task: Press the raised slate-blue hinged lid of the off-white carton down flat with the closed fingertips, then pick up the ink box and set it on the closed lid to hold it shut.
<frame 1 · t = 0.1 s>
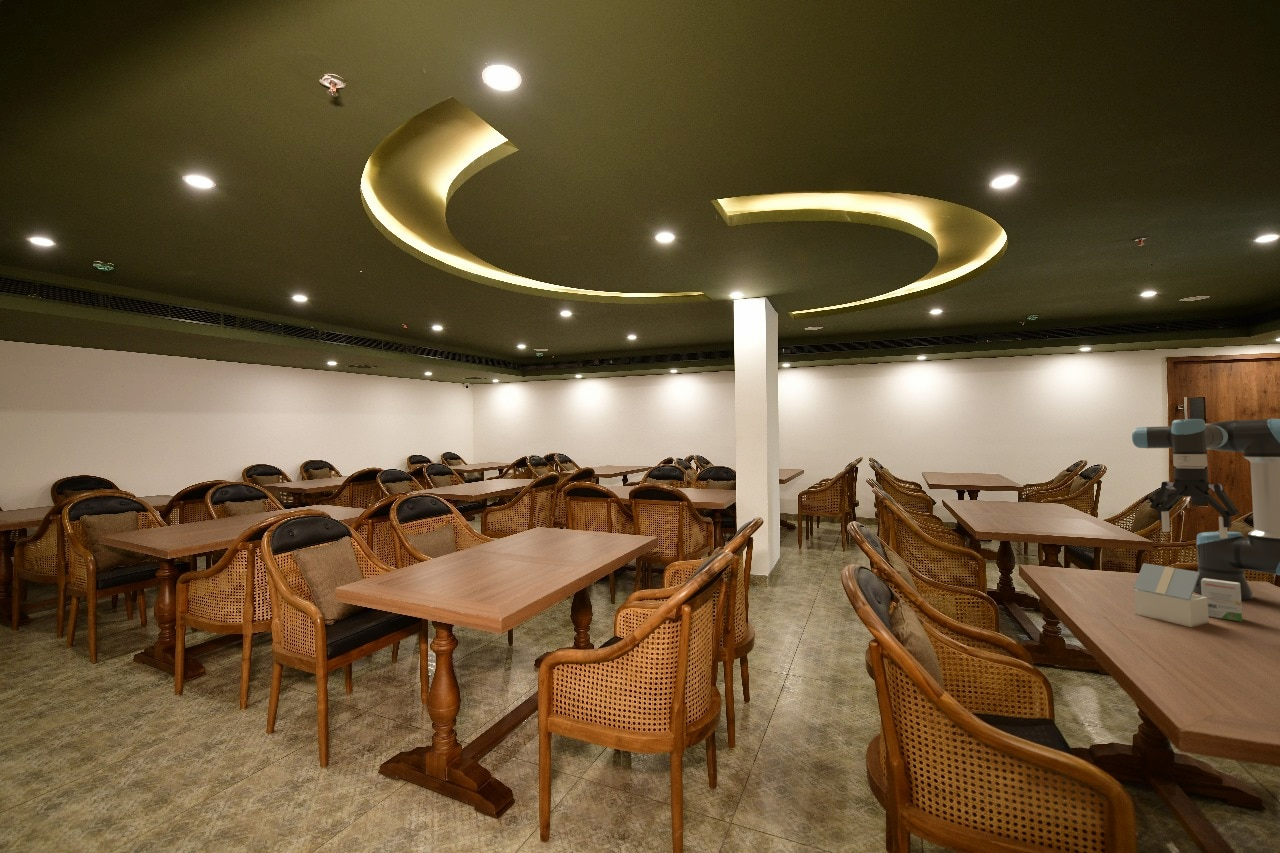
hand: (1193, 534, 167), 28 cm above the table, fingers open, 13 cm apart
lid: (1165, 580, 171), point 12 cm above the table, hinge at 50.0°
carton: (1171, 618, 171), on the table
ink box: (1222, 617, 172), on the table
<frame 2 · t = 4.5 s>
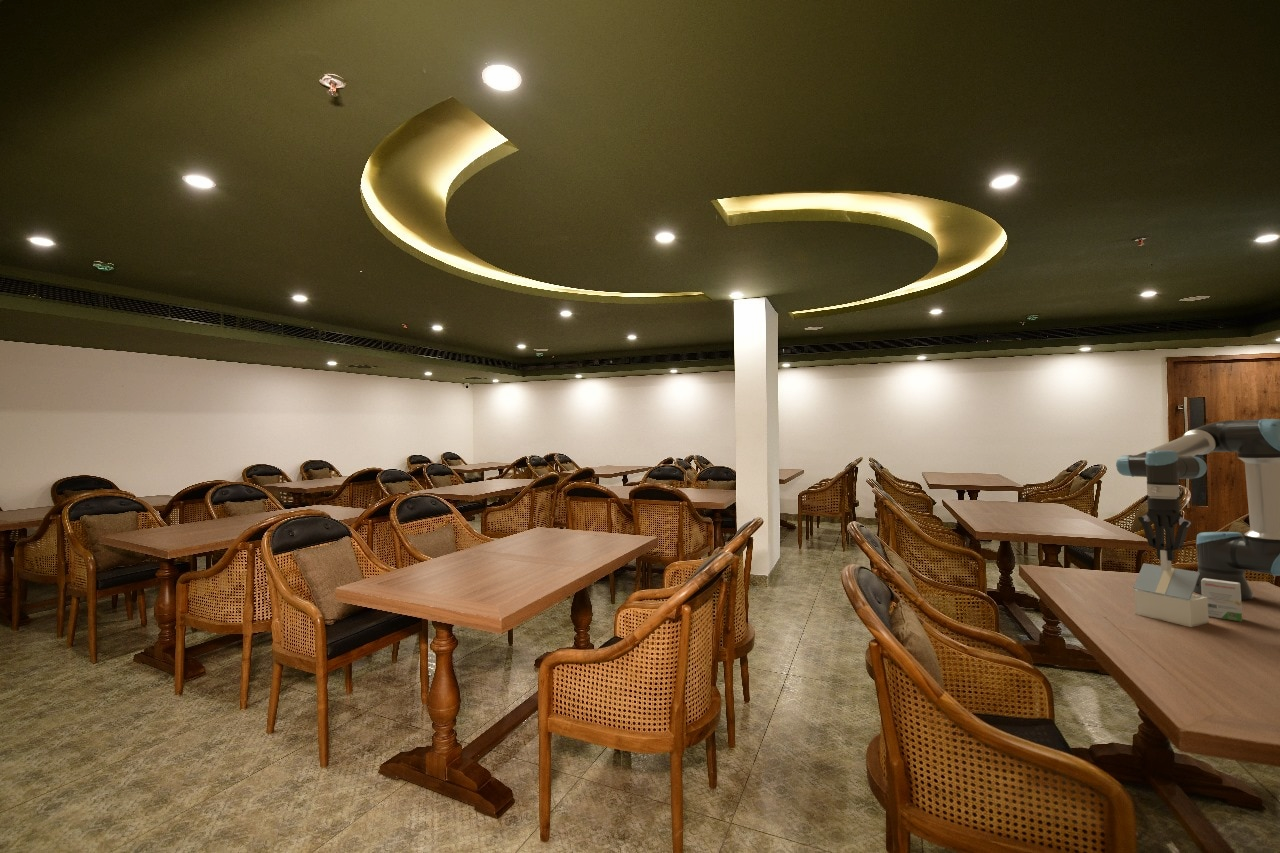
hand: (1166, 570, 171), 16 cm above the table, fingers closed
lid: (1165, 580, 171), point 12 cm above the table, hinge at 49.9°, touching gripper
everything else where it was.
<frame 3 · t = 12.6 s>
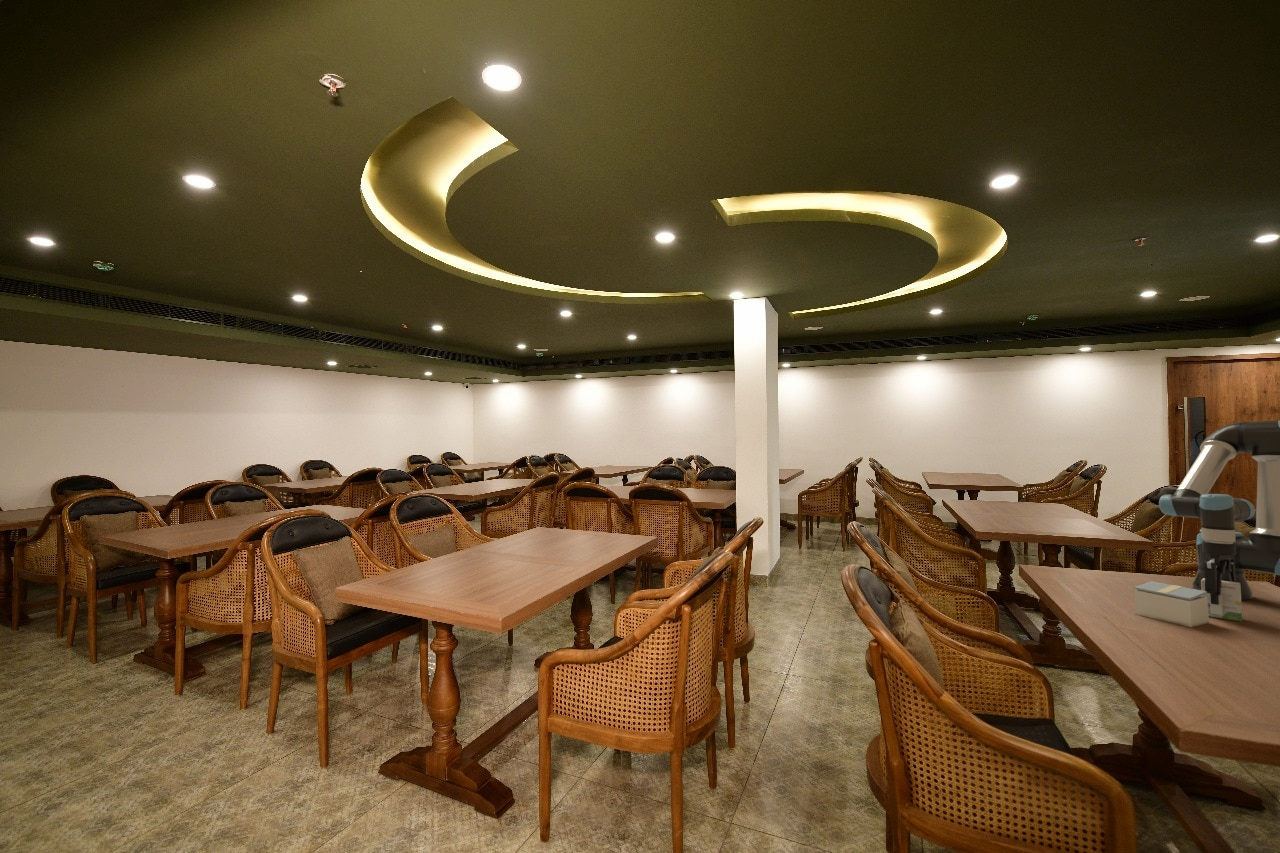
hand: (1222, 612, 172), 1 cm above the table, fingers closed on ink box, 6 cm apart
lid: (1169, 590, 172), point 9 cm above the table, hinge at 5.5°
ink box: (1222, 617, 172), on the table, touching gripper
when the fingers open (11 cm above the table, at t = 18.4 s): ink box stays where it is, resting on lid.
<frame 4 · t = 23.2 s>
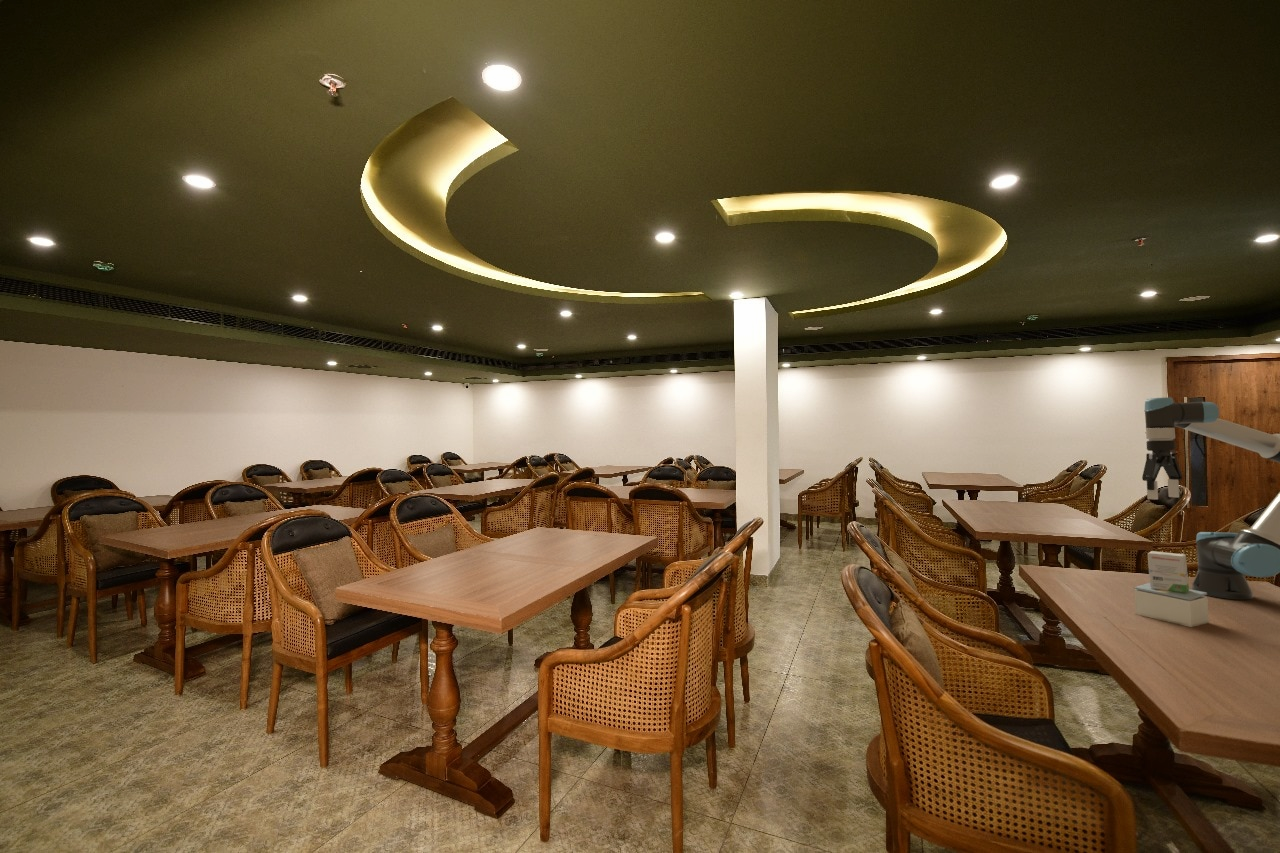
hand: (1163, 498, 192), 37 cm above the table, fingers open, 13 cm apart
lid: (1169, 590, 172), point 9 cm above the table, hinge at 3.4°, touching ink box
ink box: (1169, 590, 172), point 9 cm above the table, touching lid
at the end: lid at +3° (first picture: +50°); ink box inside the target area on the carton (0.1 cm from its centre), point 9.1 cm above the carton's base; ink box tilted 3° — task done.
